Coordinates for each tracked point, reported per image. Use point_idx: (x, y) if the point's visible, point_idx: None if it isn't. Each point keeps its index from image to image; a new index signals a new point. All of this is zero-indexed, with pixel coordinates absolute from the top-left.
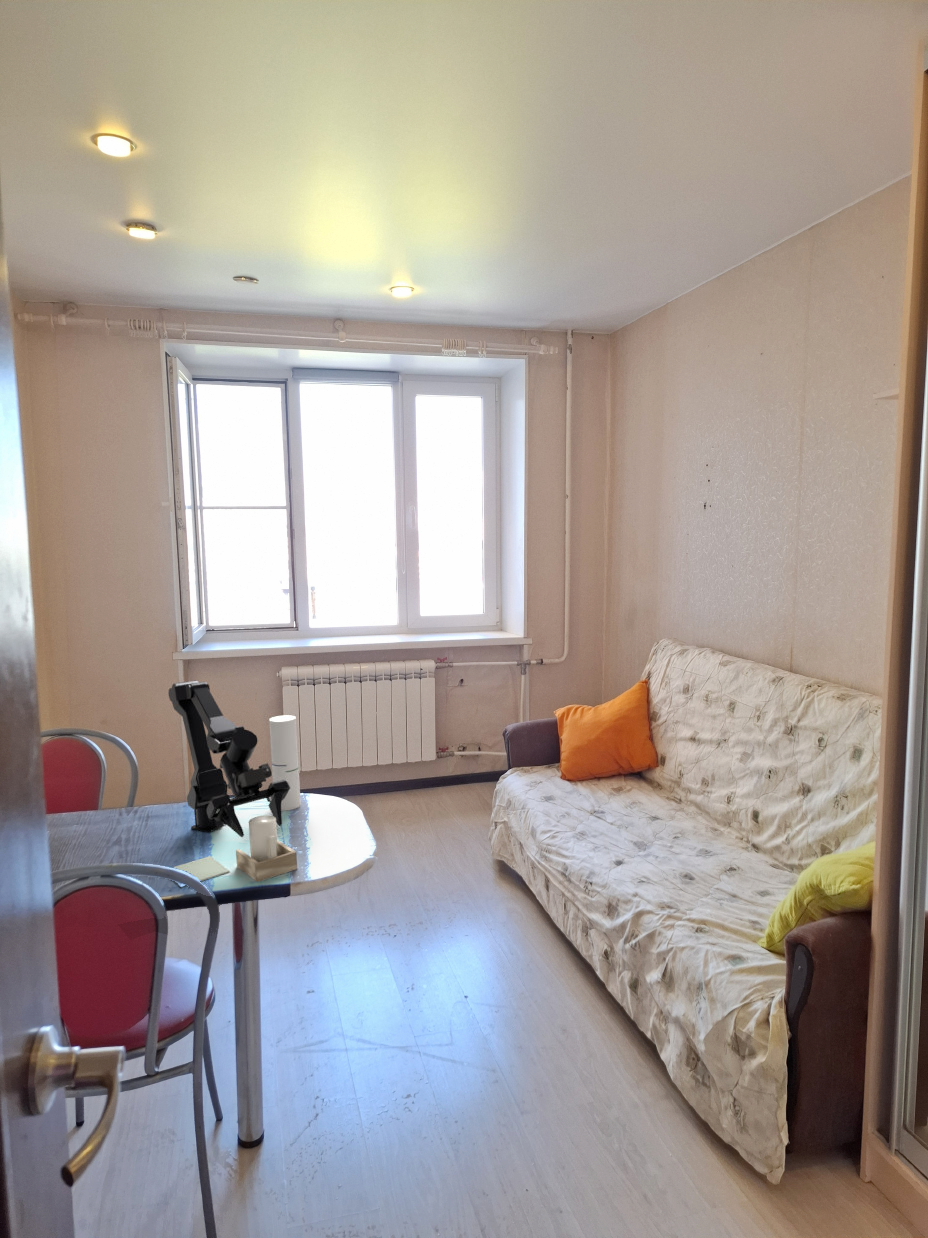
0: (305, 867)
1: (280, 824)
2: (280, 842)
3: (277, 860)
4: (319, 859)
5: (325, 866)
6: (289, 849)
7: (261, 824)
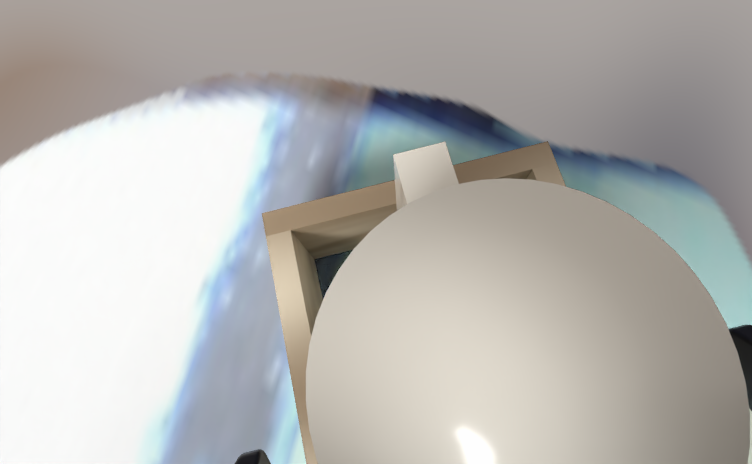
0: (247, 245)
1: (259, 450)
2: (310, 458)
3: None
4: (144, 309)
5: (156, 206)
6: (289, 278)
7: (550, 210)
